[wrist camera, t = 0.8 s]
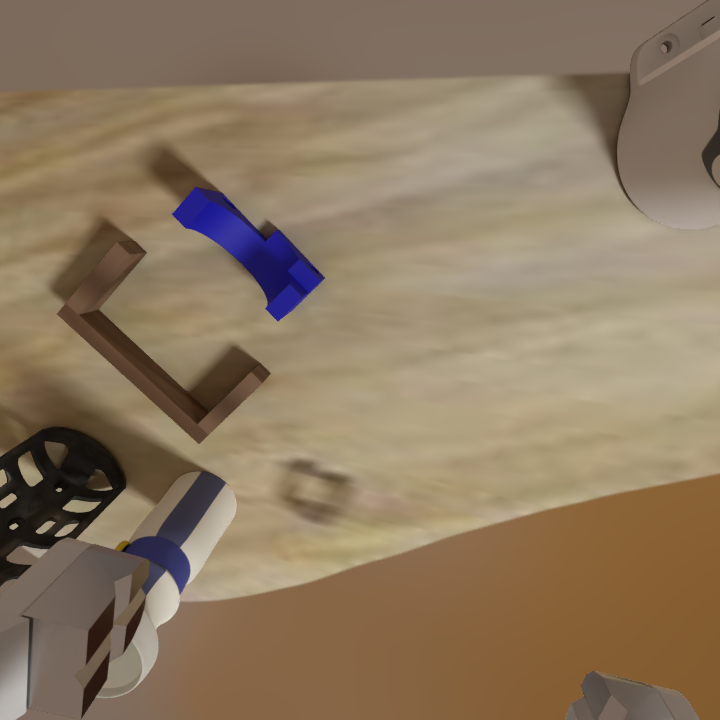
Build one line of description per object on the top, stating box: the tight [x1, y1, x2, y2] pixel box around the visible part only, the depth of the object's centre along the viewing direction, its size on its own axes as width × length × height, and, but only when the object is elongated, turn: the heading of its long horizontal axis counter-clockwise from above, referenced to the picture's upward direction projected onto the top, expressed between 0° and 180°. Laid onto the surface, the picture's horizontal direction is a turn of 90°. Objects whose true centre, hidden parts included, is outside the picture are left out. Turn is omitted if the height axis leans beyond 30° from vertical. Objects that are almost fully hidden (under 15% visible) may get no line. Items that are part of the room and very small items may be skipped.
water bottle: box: [96, 471, 236, 698], centre depth 39 cm, size 8×9×25 cm
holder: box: [0, 427, 126, 586], centre depth 42 cm, size 11×8×20 cm
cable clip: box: [172, 187, 325, 321], centre depth 40 cm, size 12×4×6 cm, turn 44°
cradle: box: [57, 241, 271, 444], centre depth 45 cm, size 10×18×3 cm, turn 44°
